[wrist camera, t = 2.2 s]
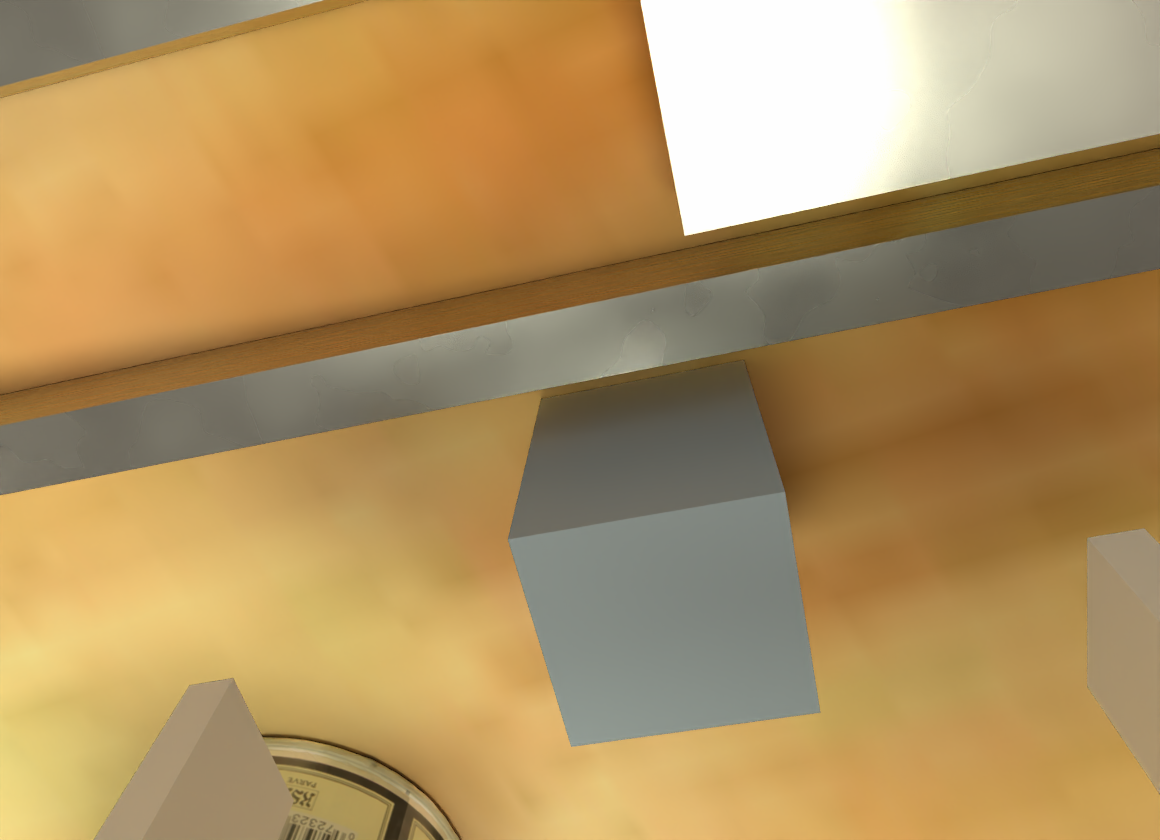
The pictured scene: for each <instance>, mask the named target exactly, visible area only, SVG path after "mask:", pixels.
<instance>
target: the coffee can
mask: <svg viewBox="0 0 1160 840" xmlns="http://www.w3.org/2000/svg"><path fill="white" fill-rule="evenodd" d="M263 739H264V741H265V743H266V745H267V747H268V749H269V751H270V753H271V755H272V757H273V759H274V761H275V763H276V765H277V767H278V769H279V771H280V773H281V776H282V778H283V780H284V782H285V784H286V786H287V788H288V790H289V792H290V794H291V796H292V798H293V800H294V802H293V804H292V807H291V809H290V812H289V814H288V817H287V819H286V822H285V824H284V827H283V829H282V832H281V834H280V837H279V839H278V840H460V839H459V837H458V836H457V834H456V833H455V832H454V830H453V829H452V827H451V826H450V824H449V822H448V821H447V819H446V818H445V816H444V815H443V814H442V813H441V812H440V811H439V809H438V808H437V807H436V805H435V804H434V803H433V802H432V801H431V800H430V799H429V798H428V797H427V796H426V795H425V794H424V793H423V792H421V791H420V790H419V789H417V788H416V787H415V786H414V785H413V784H412V783H410V782H409V781H407V780H406V779H404V778H403V777H402V776H400V775H399V774H397V773H396V772H394V771H392V770H390V769H389V768H387V767H385V766H383V765H381V764H379V763H378V762H376V761H374V760H373V759H370V758H366V757H364V756H361V755H358V754H355V753H352V752H349V751H346V750H343V749H340V748H337V747H334V746H331V745H326V744H322V743H317V742H313V741H308V740H301V739H292V738H272V737H263Z"/></svg>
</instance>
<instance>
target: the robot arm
mask: <svg viewBox="0 0 1160 840" xmlns="http://www.w3.org/2000/svg"><path fill="white" fill-rule="evenodd" d="M1087 687H1088V689H1089V690H1090V692H1091V693H1092V695H1093V696H1094V697H1095V699H1096V700H1097V702H1098V703H1099V705H1100V706H1101V708H1102V709H1103V711H1104V712H1105V714H1106V715H1107V717H1108V718H1109V720H1110V721H1111V723H1112V724H1113V726H1114V727H1115V729H1116V730H1117V732H1118V733H1119V735H1120V736H1121V738H1122V739H1123V740H1124V742H1125V743H1126V745H1127V746H1128V748H1129V749H1130V751H1131V752H1132V754H1133V755H1134V757H1135V758H1136V760H1137V761H1138V763H1139V764H1140V766H1141V767H1142V769H1143V770H1144V772H1145V773H1146V775H1147V776H1148V778H1149V779H1150V780H1151V782H1152V783H1153V785H1154V786H1155V788H1156V789H1157V791H1158V792H1159V794H1160V544H1159V543H1158V542H1157V541H1156V540H1155V539H1154V538H1153V537H1152V536H1151V535H1150V534H1149V533H1148V532H1147V531H1146V530H1145V529H1138V530H1132V531H1125V532H1119V533H1113V534H1107V535H1101V536H1095V537H1089V538H1087ZM293 802H294V800H293V798H292V796H291V794H290V792H289V790H288V788H287V786H286V784H285V782H284V780H283V778H282V776H281V773H280V771H279V769H278V767H277V765H276V763H275V761H274V759H273V757H272V755H271V753H270V751H269V749H268V747H267V745H266V743H265V741H264V739H263V737H262V735H261V733H260V731H259V729H258V727H257V725H256V723H255V721H254V719H253V717H252V715H251V713H250V711H249V709H248V707H247V705H246V703H245V701H244V699H243V697H242V695H241V693H240V691H239V689H238V687H237V685H236V683H235V681H234V679H233V678H231V679H225V680H219V681H213V682H207V683H201V684H195V685H189V687H188V689H187V690H186V692H185V693H184V695H183V697H182V698H181V700H180V702H179V703H178V705H177V706H176V708H175V710H174V711H173V713H172V714H171V716H170V718H169V719H168V721H167V722H166V724H165V726H164V727H163V729H162V731H161V732H160V734H159V735H158V737H157V739H156V740H155V742H154V743H153V745H152V747H151V748H150V750H149V751H148V753H147V755H146V756H145V758H144V760H143V761H142V763H141V764H140V766H139V768H138V769H137V771H136V772H135V774H134V776H133V777H132V779H131V780H130V782H129V784H128V785H127V787H126V789H125V790H124V792H123V793H122V795H121V797H120V798H119V800H118V801H117V803H116V805H115V806H114V808H113V809H112V811H111V813H110V814H109V816H108V817H107V819H106V821H105V822H104V824H103V826H102V827H101V829H100V830H99V832H98V834H97V835H96V837H95V838H94V840H278V839H279V837H280V834H281V832H282V829H283V827H284V824H285V822H286V819H287V817H288V814H289V812H290V809H291V807H292V804H293Z"/></svg>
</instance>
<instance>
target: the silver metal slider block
mask: <svg viewBox="0 0 1160 840" xmlns="http://www.w3.org/2000/svg"><path fill="white" fill-rule="evenodd" d="M640 6H641V11H642V17H643V22H644V27H645V33H646V38H647V43H648V49H649V54H650V60H651V65H652V70H653V76H654V81H655V86H656V92H657V97H658V102H659V108H660V113H661V119H662V124H663V129H664V135H665V140H666V145H667V151H668V156H669V161H670V167H671V172H672V177H673V183H674V188H675V194H676V198H677V203H678V207H679V212H680V216H681V221H682V226H683V230H684V235H685V236H686V235H691V234H696V233H700V232H705V231H710V230H714V229H719V228H724V227H728V226H733V225H738V224H742V223H747V222H752V221H756V220H761V219H765V218H770V217H775V216H779V215H784V214H789V213H793V212H798V211H803V210H807V209H812V208H817V207H821V206H826V205H831V204H835V203H840V202H845V201H849V200H854V199H858V198H863V197H868V196H872V195H877V194H882V193H886V192H891V191H896V190H900V189H905V188H910V187H914V186H919V185H924V184H928V183H933V182H938V181H942V180H947V179H951V178H956V177H961V176H965V175H970V174H975V173H979V172H984V171H989V170H993V169H998V168H1003V167H1007V166H1012V165H1017V164H1021V163H1026V162H1030V161H1035V160H1040V159H1044V158H1049V157H1054V156H1058V155H1063V154H1068V153H1072V152H1077V151H1082V150H1086V149H1091V148H1096V147H1100V146H1105V145H1110V144H1114V143H1119V142H1123V141H1128V140H1133V139H1137V138H1142V137H1147V136H1151V135H1156V134H1160V0H641V1H640Z"/></svg>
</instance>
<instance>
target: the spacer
mask: <svg viewBox="0 0 1160 840" xmlns="http://www.w3.org/2000/svg"><path fill="white" fill-rule="evenodd" d="M508 542H509V545H510V548H511V551H512V555H513V558H514V561H515V564H516V568H517V571H518V574H519V578H520V581H521V584H522V587H523V591H524V594H525V597H526V600H527V604H528V607H529V610H530V613H531V617H532V620H533V623H534V626H535V630H536V633H537V636H538V640H539V643H540V646H541V649H542V653H543V656H544V659H545V662H546V666H547V669H548V672H549V675H550V679H551V682H552V685H553V689H554V692H555V695H556V698H557V702H558V705H559V708H560V711H561V715H562V718H563V721H564V724H565V728H566V731H567V734H568V738H569V741H570V744H571V747H573V746H580V745H588V744H595V743H602V742H609V741H617V740H624V739H631V738H638V737H646V736H653V735H660V734H668V733H675V732H682V731H689V730H697V729H704V728H711V727H719V726H726V725H733V724H740V723H748V722H755V721H762V720H769V719H777V718H784V717H791V716H799V715H806V714H813V713H820V707H819V701H818V695H817V688H816V682H815V676H814V670H813V663H812V657H811V651H810V644H809V638H808V632H807V626H806V619H805V613H804V607H803V601H802V594H801V588H800V582H799V576H798V569H797V563H796V557H795V551H794V544H793V538H792V532H791V526H790V519H789V513H788V507H787V501H786V494H785V490H784V487H783V484H782V480H781V477H780V474H779V471H778V467H777V464H776V461H775V458H774V455H773V451H772V448H771V445H770V442H769V439H768V435H767V432H766V429H765V426H764V423H763V419H762V416H761V413H760V410H759V407H758V403H757V400H756V397H755V394H754V391H753V387H752V384H751V381H750V378H749V375H748V371H747V368H746V365H745V362H744V360H740V361H735V362H730V363H725V364H720V365H715V366H709V367H704V368H699V369H694V370H689V371H684V372H678V373H673V374H668V375H663V376H658V377H653V378H648V379H642V380H637V381H632V382H627V383H622V384H617V385H611V386H606V387H601V388H596V389H591V390H586V391H581V392H575V393H570V394H565V395H560V396H555V397H550V398H544V399H541V402H540V406H539V410H538V415H537V419H536V423H535V427H534V431H533V436H532V440H531V444H530V448H529V453H528V457H527V461H526V465H525V469H524V474H523V478H522V482H521V486H520V491H519V495H518V499H517V503H516V507H515V512H514V516H513V520H512V524H511V528H510V533H509V537H508Z"/></svg>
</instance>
